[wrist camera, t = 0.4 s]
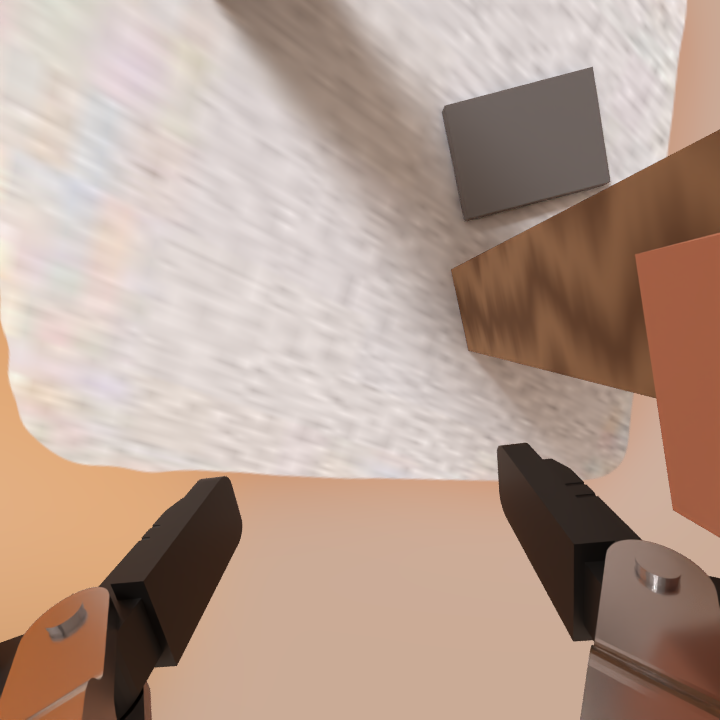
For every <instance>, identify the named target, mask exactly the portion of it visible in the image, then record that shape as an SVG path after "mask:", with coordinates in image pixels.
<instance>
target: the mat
mask: <svg viewBox="0 0 720 720" xmlns="http://www.w3.org/2000/svg"><path fill="white" fill-rule="evenodd" d="M442 114H443V119H444V124H445V129H446V133H447V138H448V143H449V148H450V153H451V157H452V162H453V167H454V172H455V177H456V182H457V186H458V191H459V196H460V201H461V206H462V210H463V215H464V220H465V221H469V220H472V219H476V218H480V217H484V216H488V215H492V214H495V213H499V212H503V211H507V210H511V209H515V208H519V207H522V206H526V205H530V204H534V203H538V202H542V201H545V200H549V199H553V198H557V197H561V196H565V195H569V194H572V193H576V192H580V191H584V190H588V189H592V188H595V187H599V186H603V185H605V184H607V183H609V182H610V176H609V170H608V163H607V157H606V150H605V144H604V137H603V131H602V124H601V118H600V111H599V105H598V98H597V92H596V85H595V79H594V72H593V67H591V68H587V69H583V70H579V71H575V72H572V73H568V74H564V75H560V76H556V77H553V78H549V79H545V80H541V81H537V82H534V83H530V84H526V85H522V86H518V87H515V88H511V89H507V90H503V91H499V92H496V93H492V94H488V95H484V96H480V97H477V98H473V99H469V100H465V101H461V102H458V103H454V104H450V105H446V106H445V107H444V109H443V111H442Z"/></svg>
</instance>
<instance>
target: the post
mask: <svg viewBox="0 0 720 720" xmlns="http://www.w3.org/2000/svg"><path fill="white" fill-rule="evenodd" d="M716 233H720V130H718V131H716V132H714V133H712V134H710V135H709V136H706V137H705V138H703V139H701V140H699V141H697V142H695V143H693V144H691V145H689V146H687V147H685V148H683V149H682V150H680V151H678V152H676V153H674V154H672V155H670V156H668V157H666V158H664V159H662V160H660V161H658V162H657V163H655V164H653V165H651V166H649V167H647V168H645V169H643V170H641V171H639V172H637V173H635V174H634V175H632V176H630V177H628V178H626V179H624V180H622V181H620V182H618V183H616V184H614V185H612V186H611V187H609V188H607V189H605V190H603V191H601V192H599V193H597V194H595V195H593V196H591V197H589V198H588V199H586V200H584V201H582V202H580V203H578V204H576V205H574V206H572V207H570V208H568V209H566V210H565V211H563V212H561V213H559V214H557V215H555V216H553V217H551V218H549V219H547V220H545V221H543V222H542V223H540V224H538V225H536V226H534V227H532V228H530V229H528V230H526V231H524V232H522V233H520V234H519V235H517V236H515V237H513V238H511V239H509V240H507V241H505V242H503V243H501V244H499V245H497V246H495V247H494V248H492V249H490V250H488V251H486V252H484V253H482V254H480V255H478V256H476V257H474V258H472V259H471V260H469V261H467V262H465V263H463V264H461V265H459V266H457V267H455V268H453V269H451V272H452V276H453V281H454V286H455V290H456V295H457V300H458V304H459V309H460V313H461V318H462V323H463V327H464V332H465V336H466V341H467V346H468V350H469V351H473V352H476V353H480V354H484V355H488V356H492V357H496V358H500V359H504V360H508V361H512V362H516V363H520V364H524V365H527V366H531V367H535V368H539V369H543V370H547V371H551V372H555V373H559V374H563V375H567V376H571V377H574V378H578V379H582V380H586V381H590V382H594V383H598V384H602V385H606V386H610V387H614V388H618V389H622V390H625V391H629V392H633V393H637V394H641V395H645V396H649V397H653V398H656V392H655V386H654V379H653V372H652V366H651V359H650V352H649V345H648V339H647V332H646V325H645V319H644V312H643V305H642V298H641V292H640V285H639V278H638V272H637V265H636V258H635V254H639V253H642V252H646V251H650V250H654V249H658V248H662V247H666V246H670V245H673V244H677V243H681V242H685V241H689V240H693V239H697V238H701V237H704V236H708V235H712V234H716Z"/></svg>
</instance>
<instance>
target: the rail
mask: <svg viewBox="0 0 720 720" xmlns="http://www.w3.org/2000/svg"><path fill="white" fill-rule="evenodd" d="M635 258H636V265H637V272H638V278H639V285H640V292H641V298H642V305H643V312H644V319H645V325H646V332H647V339H648V345H649V352H650V359H651V366H652V372H653V379H654V386H655V392H656V399H657V406H658V412H659V419H660V426H661V433H662V439H663V446H664V453H665V459H666V466H667V473H668V480H669V486H670V493H671V499H672V506H673V510H674V511H676V512H677V513H679V514H681V515H682V516H684V517H686V518H687V519H689V520H691V521H693V522H694V523H696V524H698V525H699V526H701V527H703V528H705V529H706V530H708V531H709V532H711V533H713V534H715V535H716V536H718V537H720V233H716V234H712V235H708V236H704V237H701V238H697V239H693V240H689V241H685V242H681V243H677V244H673V245H670V246H666V247H662V248H658V249H654V250H650V251H646V252H642V253H639V254H635Z"/></svg>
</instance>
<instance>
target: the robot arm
mask: <svg viewBox="0 0 720 720" xmlns="http://www.w3.org/2000/svg"><path fill="white" fill-rule="evenodd" d="M497 460H498V477H499V493H500V500H501V504H502V508H503V511H504V513H505V516H506V518H507V520H508V522H509V523H510V525H511V527H512V529H513V530H514V533H515V534H516V536H517V538H518V540H519V542H520V544H521V546H522V547H523V549H524V551H525V553H526V555H527V557H528V559H529V560H530V562H531V564H532V566H533V568H534V570H535V572H536V573H537V575H538V577H539V579H540V581H541V582H542V584H543V586H544V588H545V590H546V592H547V594H548V596H549V597H550V599H551V601H552V603H553V605H554V607H555V608H556V610H557V612H558V614H559V616H560V618H561V620H562V621H563V623H564V625H565V627H566V629H567V631H568V632H569V634H570V636H571V638H572V640H573V641H587V640H593V641H594V646H593V645H592V646H591V649H590V655H589V661H588V668H587V675H586V682H585V689H584V697H583V703H582V710H581V718H580V720H720V578H716V577H711V576H708V575H707V574H706V573H705V572H704V571H703V570H702V569H701V568H700V567H699V566H698V565H696V564H695V563H694V562H692V561H691V560H690V559H688V558H687V557H685V556H683V555H682V554H679V553H678V552H676V551H674V550H672V549H670V548H667V547H665V546H662V545H659V544H656V543H652V542H648V541H643V540H641V538H640V537H638V535H637V534H635V532H633V530H631V529H630V528H629V526H628V525H627V524H625V523H624V522H623V521H622V520H621V519H620V518H619V517H618V516H617V515H616V514H615V513H614V512H613V511H612V510H611V509H610V508H609V507H608V506H607V505H606V504H605V503H604V502H603V501H602V500H601V499H600V498H599V497H598V496H596V495H595V493H594V492H593V491H592V490H591V489H590V488H589V487H588V486H587V485H584V482H583V481H582V480H581V479H580V478H579V477H578V476H577V475H576V474H575V473H574V472H573V471H572V470H571V469H570V468H568V467H566V466H564V465H563V464H561V463H559V462H557V461H555V460H553V459H542V458H541V457H540V456H539V455H538V454H537V453H536V452H535V451H534V450H533V448H532V447H531V446H530V445H529V444H528V443H519V444H510V445H502V446H498V449H497ZM241 534H242V519H241V515H240V512H239V508H238V505H237V501H236V498H235V494H234V491H233V487H232V484H231V481H230V479H229V478H228V477H225V476H223V477H215V478H206V479H201V480H199V481H198V482H197V483H196V484H195V485H194V486H193V488H192V489H191V490H190V491H189V492H188V493H187V495H186V496H185V497H184V498H182V499H181V500H180V501H178V502H177V503H175V504H174V505H173V506H171V507H170V508H169V509H167V510H166V511H165V512H164V513H163V514H162V515H161V517H160V518H159V519H158V520H157V521H156V522H155V524H153V527H152V528H150V529H149V530H148V531H147V532H146V534H145V535H144V536H143V537H142V540H141V541H139V542H138V543H137V544H136V545H135V546H134V547H133V548H132V549H131V551H130V552H129V553H128V554H127V555H126V556H125V557H124V559H123V560H122V561H121V562H120V563H119V564H118V565H117V566H116V568H115V569H114V570H113V571H112V572H111V573H110V574H109V576H108V577H107V578H106V579H105V580H104V581H103V582H102V583H101V585H100V586H99V587H93V588H88V589H85V590H82V591H79V592H77V593H75V594H72V595H71V596H69V597H67V598H65V599H63V600H62V601H60V602H59V603H57V604H56V605H54V606H53V607H51V608H50V609H49V610H47V611H46V612H45V613H44V614H43V615H42V616H40V617H39V618H38V619H37V620H36V621H35V622H34V623H33V624H32V625H31V627H30V628H29V629H28V630H27V631H26V633H25V634H24V635H21V636H18V637H15V638H12V639H10V640H7V641H4V642H1V643H0V720H152V715H151V694H150V688H149V685H148V683H147V679H148V677H149V676H150V674H151V672H152V670H153V669H154V667H167V666H177V664H178V662H179V660H180V658H181V656H182V655H183V653H184V651H185V649H186V647H187V644H188V643H189V641H190V639H191V637H192V635H193V633H194V631H195V629H196V627H197V625H198V623H199V621H200V619H201V617H202V615H203V613H204V611H205V609H206V607H207V605H208V603H209V601H210V599H211V597H212V595H213V593H214V591H215V589H216V587H217V585H218V583H219V581H220V579H221V577H222V575H223V573H224V571H225V569H226V567H227V565H228V563H229V561H230V559H231V557H232V555H233V553H234V551H235V549H236V547H237V546H238V544H239V541H240V538H241Z"/></svg>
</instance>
